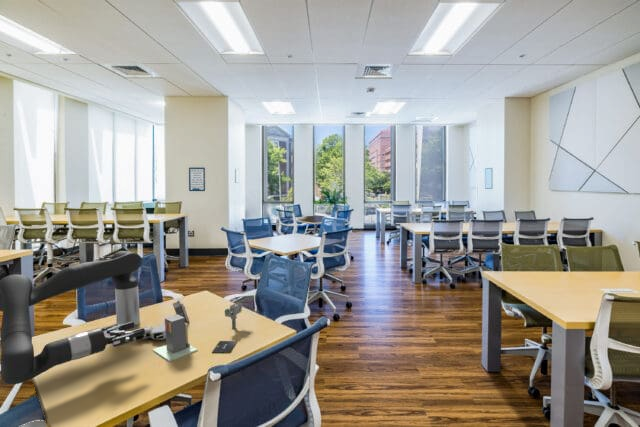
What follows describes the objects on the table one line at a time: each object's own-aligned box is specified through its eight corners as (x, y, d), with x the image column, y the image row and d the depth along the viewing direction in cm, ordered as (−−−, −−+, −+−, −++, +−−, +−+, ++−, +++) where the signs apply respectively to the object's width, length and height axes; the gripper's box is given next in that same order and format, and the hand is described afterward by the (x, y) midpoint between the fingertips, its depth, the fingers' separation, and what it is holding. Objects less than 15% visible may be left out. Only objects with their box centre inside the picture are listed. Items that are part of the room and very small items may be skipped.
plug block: (166, 349, 132) (164, 318, 131) (179, 344, 136) (177, 314, 135) (173, 353, 128) (171, 321, 127) (186, 348, 132) (184, 317, 131)
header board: (152, 350, 132) (151, 326, 131) (180, 341, 140) (179, 317, 139) (168, 361, 123) (167, 335, 123) (197, 350, 132) (196, 326, 131)
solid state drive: (211, 354, 129) (211, 352, 129) (219, 342, 139) (219, 340, 139) (230, 354, 129) (230, 352, 129) (237, 342, 139) (237, 340, 139)
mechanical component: (223, 332, 148) (223, 309, 148) (238, 323, 158) (237, 301, 157) (229, 333, 147) (229, 310, 147) (243, 324, 157) (243, 302, 156)
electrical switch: (189, 322, 160) (186, 302, 159) (177, 325, 158) (174, 305, 157) (186, 316, 168) (183, 297, 167) (174, 319, 166) (171, 300, 165)
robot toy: (129, 347, 137) (169, 342, 139) (128, 336, 137) (167, 331, 138) (142, 334, 150) (178, 330, 151) (141, 324, 149) (177, 320, 150)
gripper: (92, 338, 106) (147, 322, 118) (77, 326, 115) (130, 312, 127) (94, 362, 106) (148, 343, 118) (79, 348, 115) (131, 332, 128)
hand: (138, 327), depth 123 cm, fingers open, 8 cm apart
